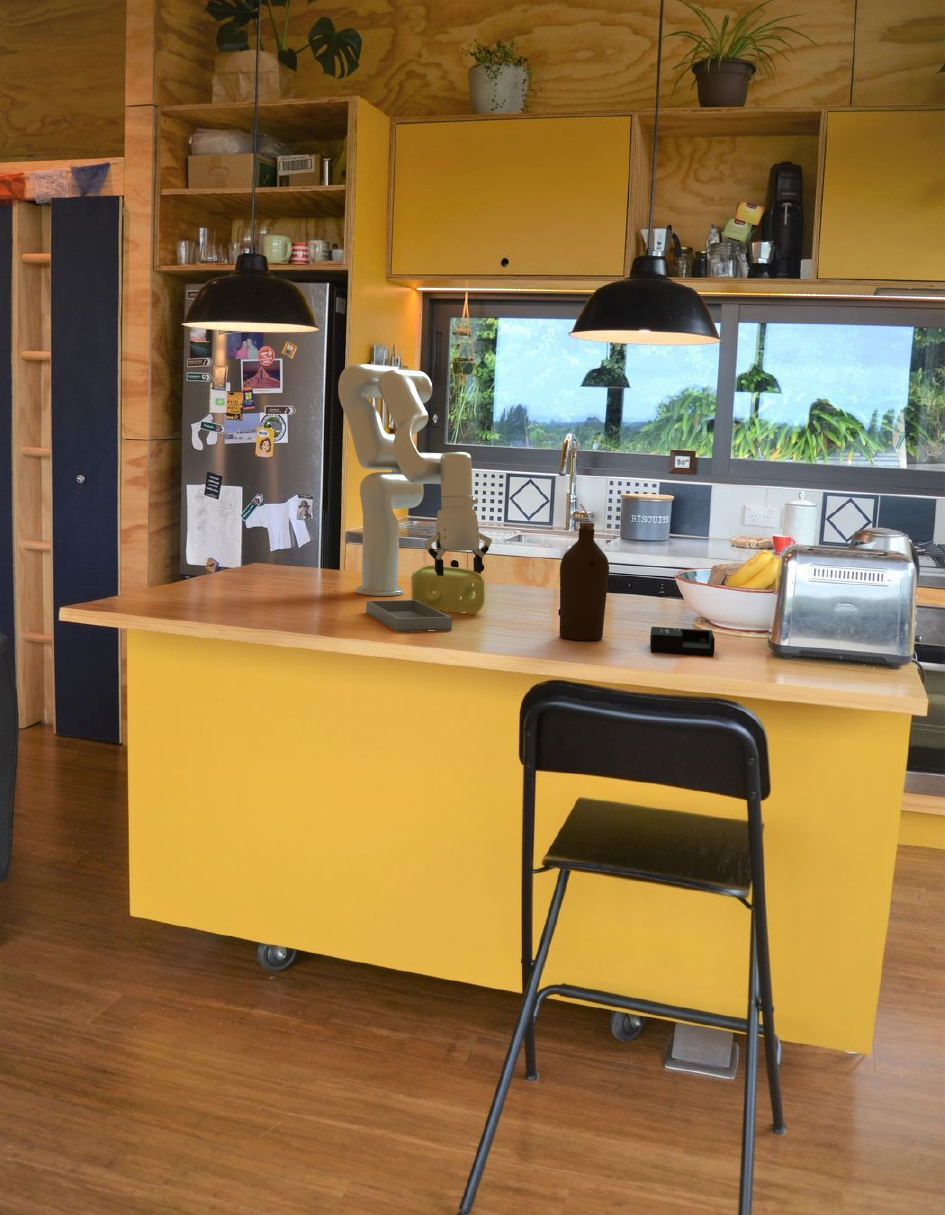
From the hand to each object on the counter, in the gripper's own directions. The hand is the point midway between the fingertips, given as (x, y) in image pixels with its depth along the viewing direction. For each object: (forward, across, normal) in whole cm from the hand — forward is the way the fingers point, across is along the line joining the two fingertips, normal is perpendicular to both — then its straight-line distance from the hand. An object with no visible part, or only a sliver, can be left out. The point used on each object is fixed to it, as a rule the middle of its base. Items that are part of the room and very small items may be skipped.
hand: (458, 574), depth 275 cm
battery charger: (+15, -30, +52) cm, 62 cm away
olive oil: (+13, -14, +36) cm, 41 cm away
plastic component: (+9, +1, -2) cm, 9 cm away
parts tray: (+9, +18, +12) cm, 23 cm away
